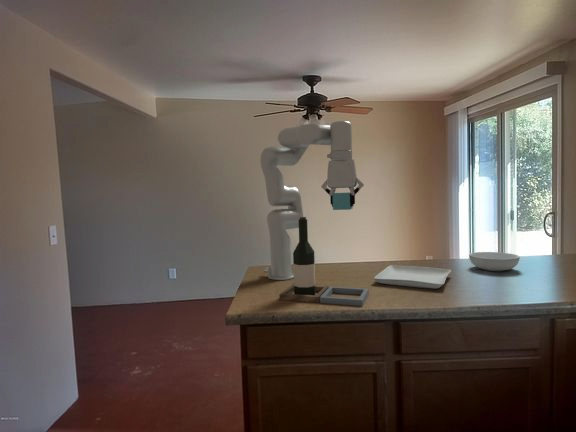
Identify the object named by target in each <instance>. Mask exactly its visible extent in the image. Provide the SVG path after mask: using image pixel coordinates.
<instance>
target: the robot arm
mask: <svg viewBox="0 0 576 432" xmlns="http://www.w3.org/2000/svg"><path fill="white" fill-rule="evenodd" d="M277 135H278V136H277V141H278V143H279V144H280V145H281V146H275V145H274V146H268V147H265V148H264V149H263V150H262V151H261V153H260V168H261V171H262V173H263V175H264V176H263V177H264V180H265V181H264V182H265V190H266V196H267V202H268V204H269V206H272V207H287V208H279V209H278V208H277V209H276V208H275V209H272V210H271V211H269V212H268V213H267V217H266V223H267V228H268V232H269V246H270V247H269V252H270V253H269V254H270V267H263V269H262V270H263V272H264V273H268V275H267V278H268V279H269V280H273V281H286V280H292V279H294V272H292V250H291V246H292V245H291V244H292V243H291V237H290V234H289V233H288V232H287V230H292V229H293V230H294V229H299V219H300V217H304V211H303V202H302V195H301V193H300V190H299V189H298V187H296V186H294V185H285V181H284V175H283V173H282V172H281V170H280V169H279V168H278V166H283V167H284V166H285V167H286V166H289V167H291V166H295V165H297V164H298V163H299V162H300V160H301V159H302V158H303V156H304V154H305V153H306V151H307V149H308V148H309V146H310V145H315V146H317V145H318V146H330V153H329V154H327V155H326V158H327V159H330V160H329V161H328V164H327V165H328V166H327V177H326V178H327V179H326V180H325V181H324V182H323V183H322V184H321V189H323V190H324V191H325V192H326V194H327V195H329V197H330V205H331V207H332V208H333V193H336V190H337V189H346V188H348V190H349V192H351V195H350V206H351V207H354V205H355V204H356V195H357V193H359V191H361V189H362V188H363V187H364V186H365V184H364V183H363V182H362V181H361V180H360V179H359V178H358V176H357V169H356V168H357V167H356V164H355V159H354V158H353V145H352V144H353V141H352V135H353V134H352V123H351V122H350V121H347V120H336V121H334V122H332V123H330V124H322V123H306V124H300V125H299V126H292V127H286V128H283V129H282V130H280V131H279V132H278V134H277ZM356 186H357V187H356ZM354 187H355V188H354ZM329 188H330V189H329Z"/></svg>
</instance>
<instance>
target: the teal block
mask: <svg viewBox="0 0 576 432" xmlns="http://www.w3.org/2000/svg"><path fill="white" fill-rule="evenodd" d="M350 195H351V192H350V191H349V192H335V193H333V207H332V210H333V211H341V210H342V211H344V210H347V211H349V210H353V207H354V206H353V207H351V206H350Z"/></svg>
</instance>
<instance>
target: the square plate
mask: <svg viewBox="0 0 576 432" xmlns="http://www.w3.org/2000/svg"><path fill="white" fill-rule="evenodd" d="M451 272H452V269H450V268H449V269H448V268H438V267H429V266H417V265H397V264H396V265H395V264H394V265H392V264H391V265H388V266H387V267H386V268H384V269H383V270H382V271H380V272H378V273H377V274H376V275H375V276H374V277H373V280H374V281H375V282H377V283H379V284H383V285H388V286H389V285H390V286H391V285H392V286H399V287H401V286H402V287H411V288H419V289H436V290H437V289H439V288H440V287H442V286H443V285H444V284H445V282H446V279H447V277H448V276H449V274H450V273H451Z"/></svg>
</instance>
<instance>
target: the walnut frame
mask: <svg viewBox="0 0 576 432" xmlns="http://www.w3.org/2000/svg"><path fill="white" fill-rule="evenodd" d="M329 287H330V286H327V285H315V293H317V292H318V293H317V294H315V296H313V295H299V294H294V283H293V284H291V285H290V286H288V287H287V288H285V290H283V291H281V292H280V293H279V300H280V299H281V300H282V301H291V300H293V301H292V302H295V301H296V302H304V301H305V302H306V303H317V304H319V303H320V297H321V296H322V295H323V293H324V292H325V291H326V290H327V289H328V288H329ZM281 300H280V301H281Z"/></svg>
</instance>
